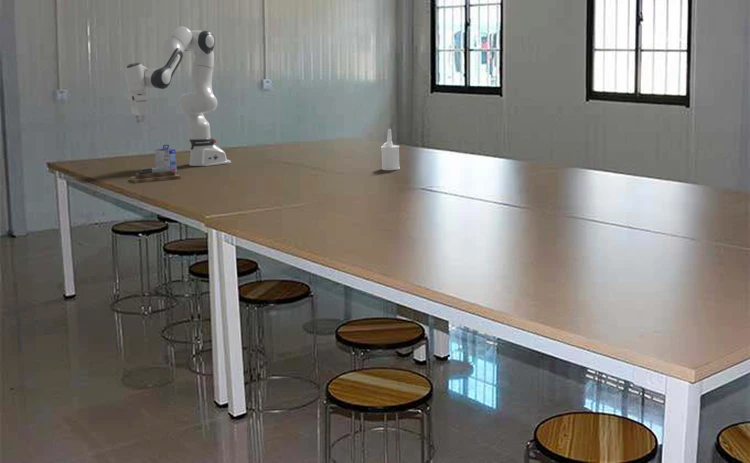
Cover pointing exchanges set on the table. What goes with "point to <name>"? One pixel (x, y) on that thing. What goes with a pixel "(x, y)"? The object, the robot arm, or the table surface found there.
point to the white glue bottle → (390, 154)
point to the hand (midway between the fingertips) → (140, 123)
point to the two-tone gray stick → (154, 170)
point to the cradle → (155, 177)
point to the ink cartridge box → (166, 158)
